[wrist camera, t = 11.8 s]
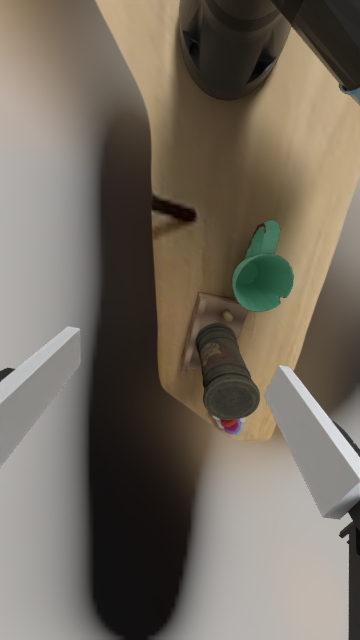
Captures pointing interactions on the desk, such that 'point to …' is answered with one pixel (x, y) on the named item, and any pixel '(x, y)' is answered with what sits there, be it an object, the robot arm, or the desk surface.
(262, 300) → the mug
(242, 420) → the rainbow striped lobed toy
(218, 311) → the ledge
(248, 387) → the container
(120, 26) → the desk surface
